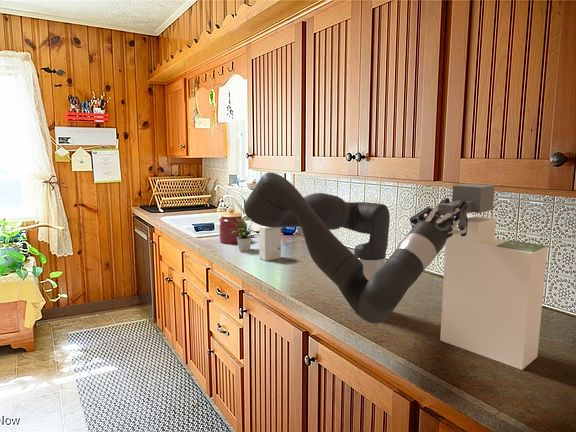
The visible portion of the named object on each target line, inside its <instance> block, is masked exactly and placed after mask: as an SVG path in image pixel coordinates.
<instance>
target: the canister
mask: <svg viewBox="0 0 576 432" xmlns="http://www.w3.org/2000/svg"><path fill="white" fill-rule="evenodd" d="M242 216H243V214H242V213H240V212H239V211H235V210H234V208H229V209H228V211H225V212H222V214H220V217H221V218H219V219H218V221H219V227H218V228H219V243H223V244H228V245H229V244H238V241H237V237H240V236H241V235H239V233H240V232H239V230H237V229H239V227H238V226H237V225H236V224H238V225H239V222H238V220H239V221H240V223H241V219H243V220H244V221H245V219H244V218H243V217H242ZM236 218H237V219H238V220H237V219H236ZM232 221H233V222H232ZM234 222H235V223H236V224H235V223H234ZM233 223H234V224H233ZM241 226H242V225H241ZM237 227H238V228H237ZM233 230H234V231H238V232H233ZM232 232H233V233H232Z"/></svg>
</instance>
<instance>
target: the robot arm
mask: <svg viewBox="0 0 576 432" xmlns="http://www.w3.org/2000/svg"><path fill="white" fill-rule="evenodd" d="M448 202H451V201H450V198H448V197H445V198H444V199H442V200H441V201H440V202H439V203H438V204H442V203H448ZM243 209H244V214H245V216H246V218H248V219H249V220H250V221H253V222H252V223H255V224H258V225H259V226H265V227H271V228H281V229H282V228H295V227H296V228H297V227H298V228H301V231H302V233H303V234H302V235H303V237H304V240H305V244H306V248H307V250H308V253H309V256H310V258H311V259H312V261H313V263H314V264H315V265H316V266H317V267H318V269H320V270H321V271H322V272H323V274H324V275H325V276H326V277H327V278H328V279H329V280H331V282H332V283H334V284H335V285H336V286H337V288H338V289H339V291H340V293H341V294H342V295H343V297H344V299H345V300H346V301H347V303H348V304H349V306H350V310H352V311H353V312H354V313H355V314H356V315H357V316H358V317H359V318H361V319H362V320H363V321H365V322H367V323H370V324H374V325H376V324H377V325H378V324H380V323H383V322H385V321H386V320H387V319H388V318H389V316H390V315H391V314H392V312H394V310H395V309H396V308H397V306H398V304H400V302H401V300H403V297H404V296H405V295H406V293H407V291H408V290H409V288H411V287H412V286H413V285H414V284H415V282H416V281H417V280H418V279H419V277H420V276H421V275H422V274H423V272H424V271H425V270H426V269H427V268H428V267H429V266H430V265H431V264H432V262H433V261H434V259H435V258H436V257H437V256H438V254H439V253H440V252H441V250H442V249H443V248H445V244H446V240H447V239H448V238H449V237H451V236H452V235H453V234H461V236H466V235H467V227H468V218H467V215H468V213H466V210H467V209H468V206H467V202H466V200H461V201H460V203H459V204H458V205H457V207H456V208H455V209H454V210H453V211H452V212H451V213H447V214H446V215H445V216H442V215H438V205H436V206H434V207H432V208H431V206H426V207H425V208H423V209H422V210H420V211H419V212H417V213H416V214H413V216H411V217H409V223H410V226H411V229H410V230H409V232H408V233H407V234H406V235H405V236H404V238H403V239H402V240H401V241H400V242H399V244H397V247H396V249H395V250H394V251H393V252H392V254H391V255H390V256H389V258H388V259H387V258H386V257H387V256H386V255H387V254H386V253H387V249H388V245H389V231H390V221H391V219H390V217H391V216H390V215H391V214H390V211H389V208H388V206H387V205H386V204H383V203H377V202H368V201H367V202H366V201H362V202H361V201H360V202H358V201H357V202H355V201H354V202H353V201H352V202H350V201H349V202H347V201H345V200H344V199H343V198H341V197H339V196H337V195H334V194H330V193H329V194H328V193H324V192H316V193H311V194H308V195H306V196H303V195H302V194H301V193H300V191H299V190H298V189H297V188H296V187H295V186H294V185H293V184H292V183H291V182H290V181H289V180H288V179H286V178H285V177H284V176H283V175H280V174H278V173H274V172H266V173H264V174H263V175H262V176H261V178H260V179H259V180H258V182H257V183H256V185H255V186H254V189H253V190H252V191H251V193H250V194H249V196H248V198H247V199H246V201H245V203H244V208H243ZM454 217H455V218H454ZM458 221H459V223H457V222H458ZM456 223H457V225H456ZM455 226H456V227H455ZM341 228H343V229H346V230H350V231H353V232H356V233H360V234H366V235H369V239H368V242H364V243H361V244H358V245H355V247H354V253H353V252H352V251H351V250H350V249H349V248H348V247H347V246H346V245H345V244H343V242H341V241H340V240H339V239H338V237H337V236H336V235H334V234H333V233H332V231H333V230H334V231H335V230H338V229H341Z"/></svg>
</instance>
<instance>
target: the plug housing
mask: <svg viewBox="0 0 576 432" xmlns="http://www.w3.org/2000/svg"><path fill="white" fill-rule="evenodd" d="M495 188H496V187H495V184H494V185H493V184H477V183H463V184H454V185H452V194H451V197H452V198H451V201H450V202H448V203H442V204H439V203H438V204H437V206H438V215H441V217H443V216H445V215H446V214H447V213H451V212H452V211H453V210H454V209H455V208H456V207H457V205H458V204H459V203H460V201H461V200H466V202H467V206H468V209H467V210H466V214H470V213H477V214H480V213H481V214H482V213H486V212H489V211H493V210H494V202H495V201H494V200H495Z"/></svg>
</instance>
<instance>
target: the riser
mask: <svg viewBox="0 0 576 432" xmlns="http://www.w3.org/2000/svg"><path fill="white" fill-rule="evenodd" d="M454 218H455V217H454ZM467 218H468V227H467V235H466V236H461V234H453V235H452V236H451V237H449V238H448V239H447V240H446V243H445V245H444V264H443V265H444V266H443V281H442V282H443V283H442V304H441V320H440V323H441V324H440V335H439V337H440V339H439V340H440V341H441V342H444V343H446V344H449V345H452V346H455V347H457V348H461V349H463V350H466V351H468V352H471V353H474V354H477V355H479V356H482V357H486V358H488V359H490V360H494V361H497V362H499V363H501V364H505V365H507V366H510V367H513V368H516V369H519V370H521V371H522V370H524V369H525V368H526V367H527V366H528V365H529V364H531V363H533V361H534V360H535V359H536V360H537V358H538V356H539V355H538V353H539V342H540V330H541V320H542V310H543V299H544V288H545V280H546V266H547V257H548V256H547V255H548V245H547V246H546V245H544V244H538V243H531V242H524V241H520V240H511V239H510V240H508V239H501V238H496V237H495V235H496V234H495V233H496V222H497V221H496V220H497V218H496V217H495V218H493V217H487V216H480V215H479V216H478V215H470V214H467ZM457 223H459V221H458V222H457ZM457 223H456V225H457ZM455 227H456V226H455Z"/></svg>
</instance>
